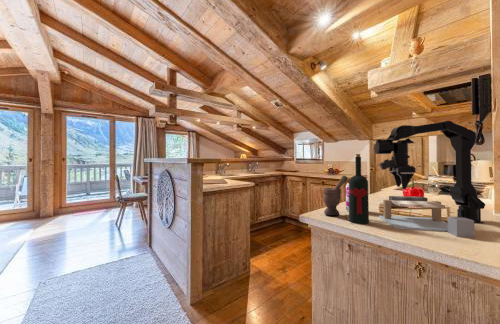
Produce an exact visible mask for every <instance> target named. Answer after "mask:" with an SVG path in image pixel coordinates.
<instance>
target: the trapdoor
mask: <svg viewBox="0 0 500 324" xmlns="http://www.w3.org/2000/svg"><path fill="white" fill-rule="evenodd" d="M388 200H391V206H399V207H407V208H408V207H409V208H411V207H412V208H432V207H433V208H441V209H446V205H445V204H442V203H441V204H439V203H435V202H432V201H431V200H430V201H428V197H425V196H413V195H412V196H407V195H405V196H404V195H403V196H402V195H389V196H388Z"/></svg>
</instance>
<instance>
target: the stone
mask: <svg viewBox="0 0 500 324" xmlns="http://www.w3.org/2000/svg"><path fill="white" fill-rule="evenodd" d="M447 223H448V232H447V233H449V234H450V235H452V236H454V237H458V238H469V239H470V238H471V239H474V238H475V222H474V220H471V219H468V218H465V217H457V216H447Z"/></svg>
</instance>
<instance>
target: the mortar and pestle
mask: <svg viewBox="0 0 500 324" xmlns="http://www.w3.org/2000/svg"><path fill="white" fill-rule="evenodd" d="M347 181H348V176H346V175H342V176H341V177H340V179H339V181H338V182H337V184H336V185H335V186H334V187H327V186H326V187H323V188H322V199H323V203H324V204H325V206H326V209H324V212H323V214H325V215H327V216H339V215H340V211H339V210H338V209H337V207H338V206H339V205H340V203H341V194H342V192H341V191H342V189H341V187H342V186H343V185H344V184H346V182H347Z"/></svg>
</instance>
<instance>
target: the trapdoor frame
mask: <svg viewBox="0 0 500 324" xmlns="http://www.w3.org/2000/svg"><path fill="white" fill-rule="evenodd" d="M382 201H383V202H382V203H383V207H382V208H383V211H382V213H383V215H378V219H381V220H382V221H384V222H385V223H387V224H388V225H389V226H391V227H393V228H394V229H396V230H413V231H414V230H415V231H430V232H431V231H432V232H434V231H435V232H447V233H448V222H446V221H444V220H442V208H433V207H431V217H419V216H398V215H397V216H396V215H395V216H394V215H392V204H391V200H389V199H383V200H382ZM431 202H435V203H439V204H442V202H441V201H438V200H436V201H435V200H432V201H431Z"/></svg>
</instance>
